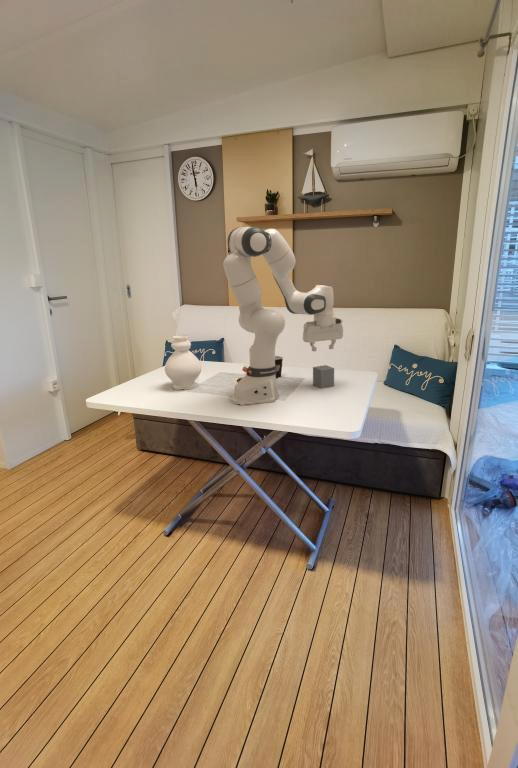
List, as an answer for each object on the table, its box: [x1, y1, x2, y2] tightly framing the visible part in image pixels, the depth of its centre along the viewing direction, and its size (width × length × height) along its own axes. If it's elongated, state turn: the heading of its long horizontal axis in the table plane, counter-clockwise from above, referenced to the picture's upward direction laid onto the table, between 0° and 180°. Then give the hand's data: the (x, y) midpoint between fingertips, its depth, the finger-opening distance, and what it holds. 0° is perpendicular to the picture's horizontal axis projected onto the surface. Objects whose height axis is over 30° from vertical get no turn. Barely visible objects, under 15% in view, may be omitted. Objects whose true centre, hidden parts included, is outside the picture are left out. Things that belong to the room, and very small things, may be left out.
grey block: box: [312, 364, 335, 389], centre depth 195 cm, size 7×7×9 cm
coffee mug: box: [275, 355, 284, 379], centre depth 214 cm, size 12×9×10 cm
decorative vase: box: [164, 334, 203, 390], centre depth 200 cm, size 18×18×25 cm
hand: (322, 350), depth 192 cm, fingers open, 8 cm apart
